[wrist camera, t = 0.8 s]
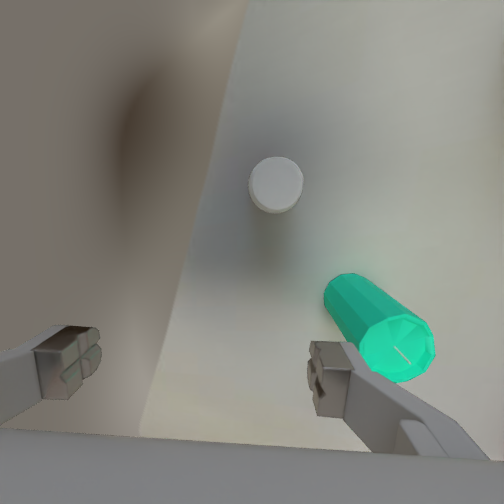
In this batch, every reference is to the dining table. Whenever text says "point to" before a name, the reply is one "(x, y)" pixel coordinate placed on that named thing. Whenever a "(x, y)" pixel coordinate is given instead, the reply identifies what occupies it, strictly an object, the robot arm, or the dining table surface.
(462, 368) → the dining table surface
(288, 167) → the pill bottle
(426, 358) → the candle
